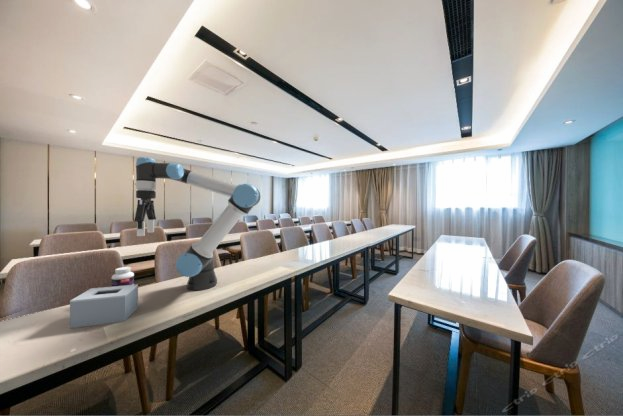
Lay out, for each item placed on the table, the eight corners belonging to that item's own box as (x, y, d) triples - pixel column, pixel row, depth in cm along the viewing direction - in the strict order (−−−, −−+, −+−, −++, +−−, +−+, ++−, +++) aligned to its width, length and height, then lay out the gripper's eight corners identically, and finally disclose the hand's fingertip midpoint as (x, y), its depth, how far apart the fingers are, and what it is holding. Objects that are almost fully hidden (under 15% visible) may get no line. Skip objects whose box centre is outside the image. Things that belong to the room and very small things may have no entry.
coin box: (137, 307, 94) (138, 284, 94) (124, 321, 83) (125, 295, 82) (90, 312, 88) (90, 288, 88) (69, 328, 77) (70, 300, 77)
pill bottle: (120, 303, 97) (120, 271, 97) (106, 301, 99) (106, 270, 98) (138, 296, 105) (138, 266, 105) (124, 294, 106) (125, 265, 106)
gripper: (145, 191, 114) (145, 231, 114) (125, 188, 91) (124, 238, 91) (162, 192, 117) (162, 230, 117) (146, 188, 94) (146, 237, 94)
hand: (146, 234), depth 104 cm, fingers open, 13 cm apart
